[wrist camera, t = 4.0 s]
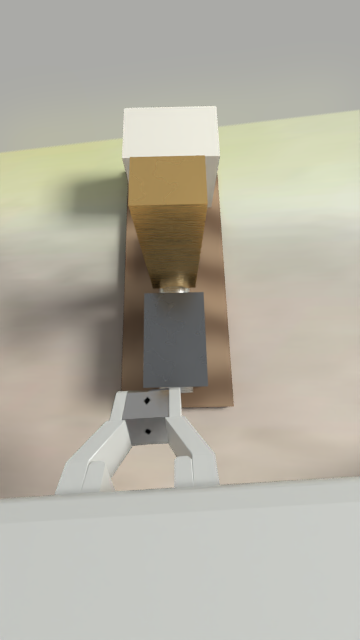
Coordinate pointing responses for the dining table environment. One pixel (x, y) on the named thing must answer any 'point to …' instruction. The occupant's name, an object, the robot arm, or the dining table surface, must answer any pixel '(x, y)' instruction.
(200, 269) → the walnut base board
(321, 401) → the dining table surface
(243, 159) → the dining table surface
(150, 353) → the dark gray block
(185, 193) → the block rod assembly
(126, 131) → the cream socket block
